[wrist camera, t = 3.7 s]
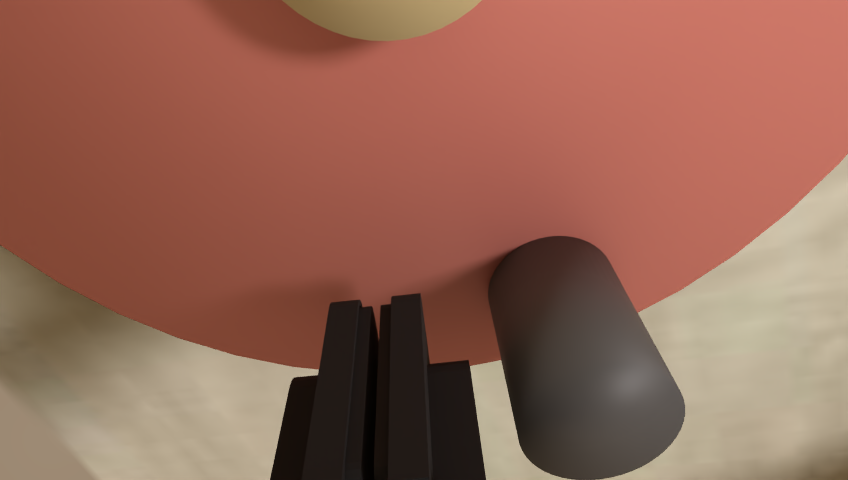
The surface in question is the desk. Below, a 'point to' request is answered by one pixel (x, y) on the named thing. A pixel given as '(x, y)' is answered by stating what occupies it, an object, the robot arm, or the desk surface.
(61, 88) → the handwheel
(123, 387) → the desk surface
